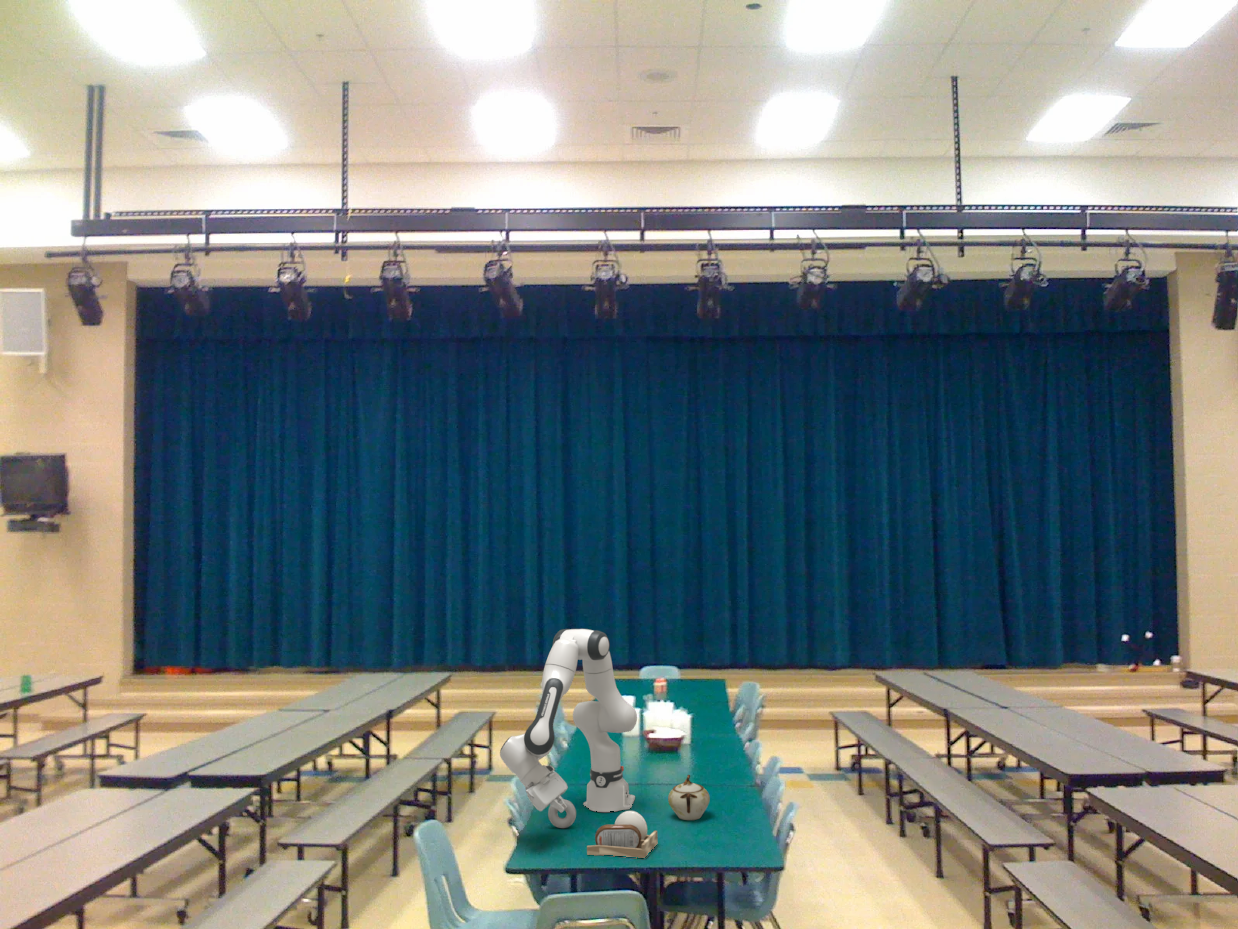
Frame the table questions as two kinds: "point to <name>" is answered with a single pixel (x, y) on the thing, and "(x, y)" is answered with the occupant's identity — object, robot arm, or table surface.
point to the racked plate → (633, 821)
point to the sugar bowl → (688, 800)
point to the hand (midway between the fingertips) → (564, 810)
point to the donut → (562, 821)
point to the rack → (626, 848)
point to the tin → (618, 836)
